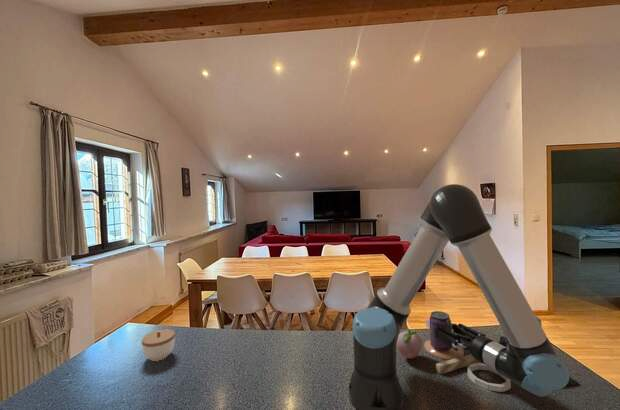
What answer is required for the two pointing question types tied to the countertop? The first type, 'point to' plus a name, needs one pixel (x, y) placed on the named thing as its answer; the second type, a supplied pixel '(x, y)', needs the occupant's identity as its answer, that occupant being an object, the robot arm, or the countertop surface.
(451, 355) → the coaster
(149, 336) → the lidded jar
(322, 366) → the countertop surface
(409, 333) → the decorative fruit
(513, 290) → the robot arm
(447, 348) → the beverage can
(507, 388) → the ring
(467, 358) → the wooden bar
